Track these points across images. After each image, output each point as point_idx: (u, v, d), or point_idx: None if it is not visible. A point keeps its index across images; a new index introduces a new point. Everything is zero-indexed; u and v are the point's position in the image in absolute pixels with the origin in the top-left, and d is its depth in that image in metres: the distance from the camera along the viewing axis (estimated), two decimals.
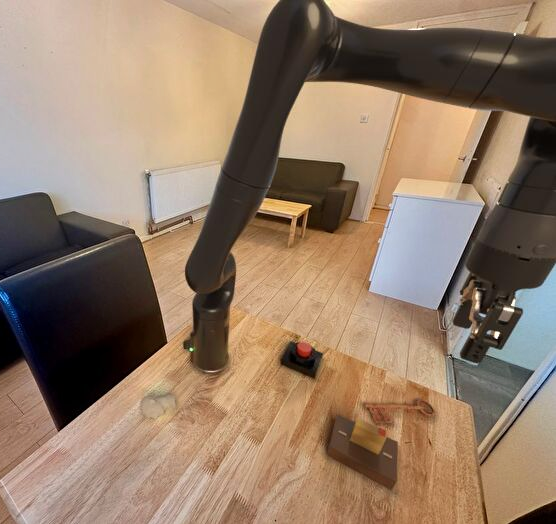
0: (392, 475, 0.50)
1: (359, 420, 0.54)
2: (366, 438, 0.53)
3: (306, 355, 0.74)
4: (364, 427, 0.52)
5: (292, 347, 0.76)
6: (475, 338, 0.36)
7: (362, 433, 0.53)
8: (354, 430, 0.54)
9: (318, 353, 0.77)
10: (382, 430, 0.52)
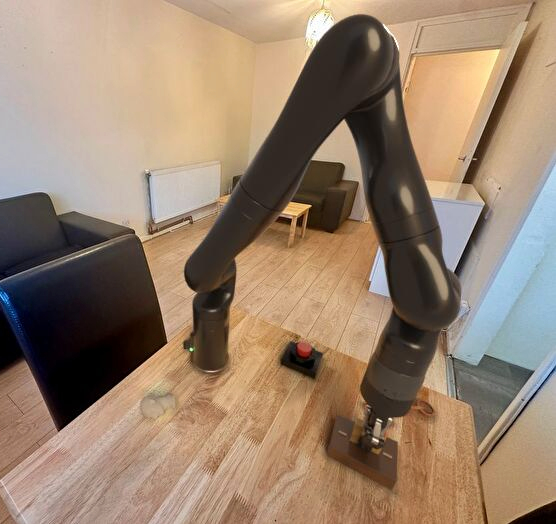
0: (392, 475, 0.50)
1: (359, 420, 0.54)
2: None
3: (306, 355, 0.74)
4: None
5: (292, 347, 0.76)
6: (361, 439, 0.50)
7: None
8: (354, 430, 0.54)
9: (318, 353, 0.77)
10: None
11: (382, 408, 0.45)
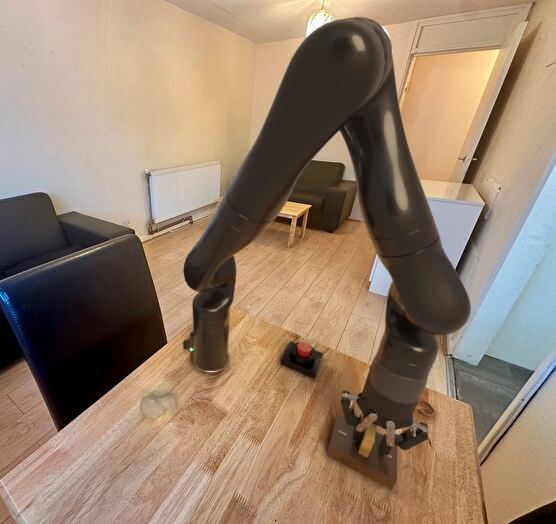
0: (392, 475, 0.50)
1: (367, 435, 0.51)
2: None
3: (306, 355, 0.74)
4: (374, 433, 0.51)
5: (292, 347, 0.76)
6: (403, 448, 0.49)
7: None
8: None
9: (318, 353, 0.77)
10: None
11: None
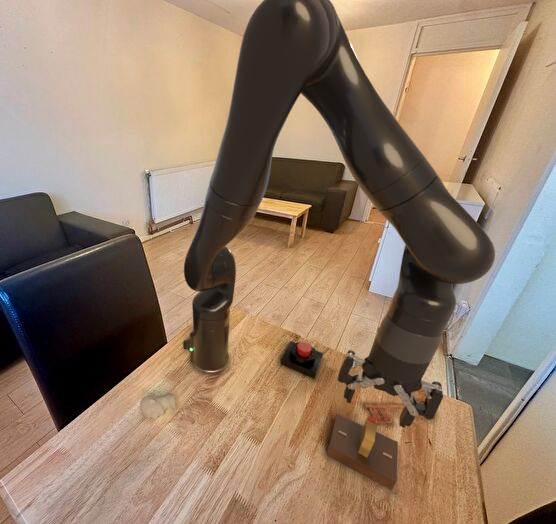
0: (392, 475, 0.50)
1: (367, 435, 0.51)
2: None
3: (306, 355, 0.74)
4: (374, 433, 0.51)
5: (292, 347, 0.76)
6: (429, 417, 0.45)
7: None
8: None
9: (318, 353, 0.77)
10: (370, 418, 0.54)
11: None
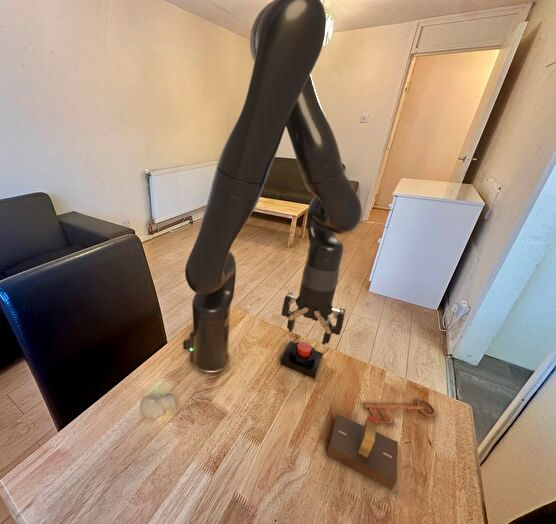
0: (392, 475, 0.50)
1: (367, 435, 0.51)
2: None
3: (306, 355, 0.74)
4: (374, 433, 0.51)
5: (292, 347, 0.76)
6: (337, 333, 0.66)
7: None
8: None
9: (318, 353, 0.77)
10: (370, 418, 0.54)
11: (332, 298, 0.65)
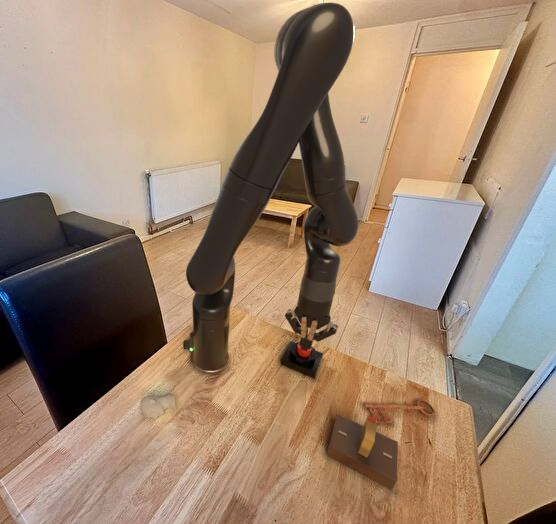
0: (392, 475, 0.50)
1: (367, 435, 0.51)
2: None
3: (306, 355, 0.74)
4: (374, 433, 0.51)
5: (292, 347, 0.76)
6: (317, 340, 0.70)
7: None
8: None
9: (318, 353, 0.77)
10: (370, 418, 0.54)
11: (330, 308, 0.66)
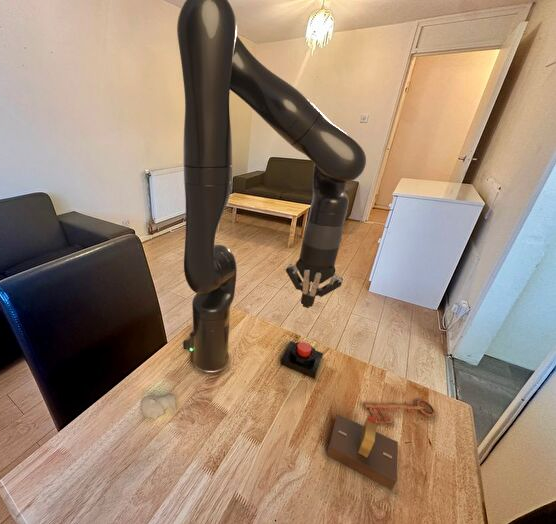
0: (392, 475, 0.50)
1: (367, 435, 0.51)
2: None
3: (306, 355, 0.74)
4: (374, 433, 0.51)
5: (292, 347, 0.76)
6: (321, 295, 0.65)
7: None
8: None
9: (318, 353, 0.77)
10: (370, 418, 0.54)
11: (335, 258, 0.61)
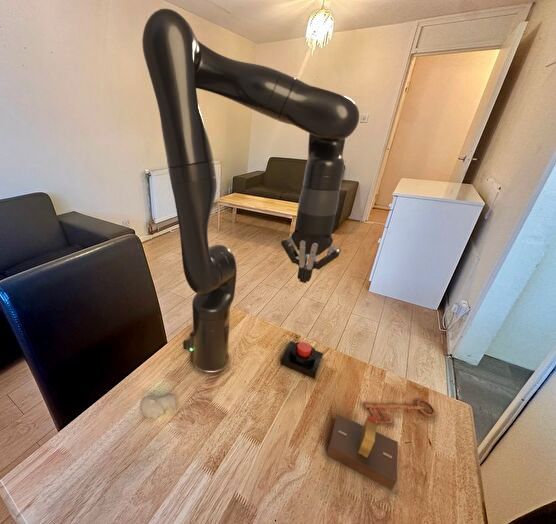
0: (392, 475, 0.50)
1: (367, 435, 0.51)
2: None
3: (306, 355, 0.74)
4: (374, 433, 0.51)
5: (292, 347, 0.76)
6: (318, 267, 0.62)
7: None
8: None
9: (318, 353, 0.77)
10: (370, 418, 0.54)
11: (332, 227, 0.58)
